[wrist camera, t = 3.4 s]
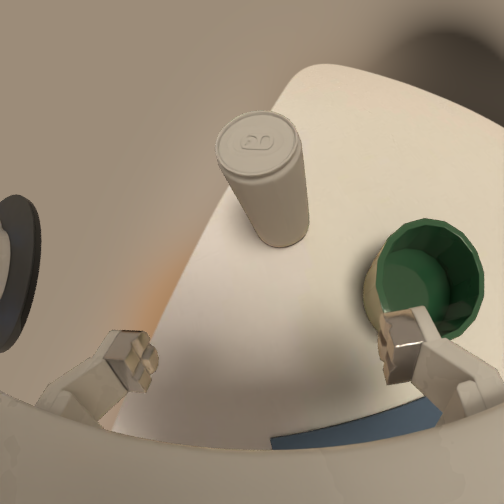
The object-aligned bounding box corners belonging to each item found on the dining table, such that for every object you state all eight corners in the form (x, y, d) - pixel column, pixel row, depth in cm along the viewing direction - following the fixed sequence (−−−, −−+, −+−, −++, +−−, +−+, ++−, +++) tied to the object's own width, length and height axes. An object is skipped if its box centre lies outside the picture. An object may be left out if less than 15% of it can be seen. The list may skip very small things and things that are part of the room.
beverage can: (260, 197, 27) (223, 109, 16) (312, 201, 26) (304, 109, 15) (251, 246, 26) (202, 176, 15) (306, 252, 25) (295, 180, 14)
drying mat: (294, 536, 17) (294, 538, 17) (270, 437, 21) (270, 439, 21) (457, 489, 15) (458, 491, 14) (450, 384, 19) (452, 385, 18)
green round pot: (376, 357, 21) (394, 361, 16) (350, 260, 24) (359, 235, 18) (461, 324, 20) (496, 318, 14) (434, 235, 23) (460, 207, 17)
